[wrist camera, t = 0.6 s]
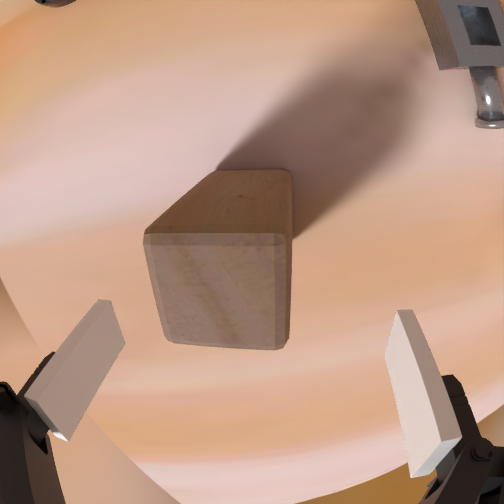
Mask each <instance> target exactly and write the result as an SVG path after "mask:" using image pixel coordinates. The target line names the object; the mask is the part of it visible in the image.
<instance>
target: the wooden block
mask: <svg viewBox="0 0 504 504" xmlns="http://www.w3.org/2000/svg"><path fill="white" fill-rule="evenodd" d="M143 246H144V251H145V256H146V261H147V266H148V270H149V275H150V279H151V284H152V288H153V292H154V297H155V301H156V305H157V309H158V313H159V317H160V321H161V325H162V328H163V332H164V336H165V337H166V338H167V340H168V341H171V342H173V343H177V344H187V345H197V346H209V347H222V348H237V349H256V350H278V349H282V348H283V347H284V345H285V344H286V342H287V340H288V339H289V330H290V306H291V274H292V176H291V174H290V172H289V171H286V170H284V169H258V170H223V171H214V172H212V173H210V174H208V175H207V176H206V177H205V178H204V179H202V180H201V181H200V182H199V183H198V184H196V185H195V186H194V187H193V188H192V189H191V190H189V191H188V192H187V193H186V194H185V195H184V196H182V197H181V198H180V199H179V200H178V201H177V202H176V203H174V204H173V205H172V206H171V207H170V208H169V209H168V210H166V211H165V212H164V213H163V214H162V215H161V216H160V217H159V218H157V219H156V220H155V221H154V222H153V223H152V224H151V225H150V226H149V227H148V228H147V229H145V233H144V238H143Z"/></svg>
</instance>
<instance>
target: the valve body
mask: <svg viewBox="0 0 504 504" xmlns="http://www.w3.org/2000/svg"><path fill="white" fill-rule="evenodd" d="M415 1H416V3H417V6H418V8H419V11H420V13H421V16H422V18H423V21H424V24H425V26H426V29H427V32H428V35H429V38H430V41H431V44H432V47H433V50H434V53H435V56H436V60H437V63H438V67H439V70H450V69H469V70H470V74H471V78H472V82H473V86H474V91H475V95H476V100H477V105H478V110H479V116H480V118H477V119H475V126H476V127H479V128H488V129H500V128H504V107H503V102H502V97H501V92H500V87H499V82H498V78H497V74H496V70H495V68H503V67H504V13H503V11H502V8H501V6H500V3H499V1H498V0H415Z"/></svg>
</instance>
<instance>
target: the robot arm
mask: <svg viewBox="0 0 504 504" xmlns="http://www.w3.org/2000/svg"><path fill="white" fill-rule="evenodd" d="M35 1H36V2H37V3H39V4H41V5H45V6H50V7H61V6H65V5H67V4H70V3H72V2H74V1H76V0H35ZM124 345H125V340H124V338H123V335H122V332H121V329H120V327H119V324H118V321H117V318H116V315H115V312H114V309H113V306H112V303H111V301H109V300H100V299H98V300H97V302H96V303H95V304H94V305H93V306H92V308H91V309H90V310H89V311H88V312H87V314H86V315H85V316H84V317H83V319H82V320H81V321H80V322H79V323H78V325H77V326H76V327H75V328H74V330H73V331H72V332H71V333H70V335H69V336H68V337H67V338H66V340H65V341H64V342H63V344H62V345H61V346H60V347H59V349H58V350H57V351H56V352H52V353H50V354H49V355H48V356H46V357H45V358H44V359H43V361H42V362H41V363H40V364H39V367H38V368H36V370H35V371H34V374H32V375H31V377H30V378H29V379H28V381H27V382H26V383H25V385H24V386H23V387H22V389H21V390H20V392H19V393H18V394H17V395H16V394H15V392H14V391H13V390H12V388H11V387H10V385H9V384H8V383H7V382H0V504H66V503H65V500H64V496H63V493H62V489H61V486H60V482H59V478H58V474H57V471H56V466H55V462H54V457H53V452H52V448H51V443H50V438H49V436H48V434H47V432H48V430H49V429H50V430H51V431H52V433H53V434H54V435H55V436H56V437H58V438H60V439H63V440H65V441H68V442H69V441H70V439H71V437H72V435H73V433H74V431H75V429H76V428H77V426H78V424H79V422H80V420H81V419H82V417H83V415H84V413H85V411H86V410H87V408H88V406H89V404H90V403H91V401H92V399H93V397H94V396H95V394H96V392H97V390H98V389H99V387H100V385H101V383H102V382H103V380H104V378H105V377H106V375H107V373H108V371H109V370H110V368H111V366H112V365H113V363H114V361H115V360H116V358H117V356H118V355H119V353H120V351H121V350H122V348H123V346H124ZM384 357H385V360H386V364H387V368H388V372H389V376H390V380H391V384H392V388H393V392H394V396H395V400H396V405H397V409H398V413H399V418H400V423H401V428H402V432H403V437H404V443H405V448H406V453H407V459H408V464H409V471H410V477H411V478H414V477H419V476H424V475H428V474H430V473H431V472H432V471H433V470H434V469H435V468H436V471H437V476H436V477H435V478H434V479H433V480H432V481H431V482H430V483H429V484H428V485H427V487H429V489H428V490H427V492H426V494H425V495H424V497H423V498H422V500H421V501H420V503H419V504H504V447H497V446H493V445H492V443H491V442H490V441H489V440H487V439H486V438H482V437H481V435H480V432H479V429H478V427H477V424H476V421H475V418H474V415H473V413H472V410H471V407H470V405H469V404H468V400H467V397H466V396H465V392H464V390H463V387H462V385H461V383H460V382H459V381H458V380H457V379H456V378H455V376H454V375H453V374H452V375H445V376H441V375H440V372H439V370H438V367H437V365H436V362H435V360H434V357H433V355H432V352H431V350H430V348H429V345H428V343H427V341H426V338H425V336H424V334H423V332H422V329H421V327H420V325H419V323H418V320H417V318H416V316H415V314H414V312H413V310H397V311H396V315H395V319H394V323H393V327H392V330H391V334H390V338H389V341H388V345H387V348H386V351H385V355H384Z"/></svg>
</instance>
